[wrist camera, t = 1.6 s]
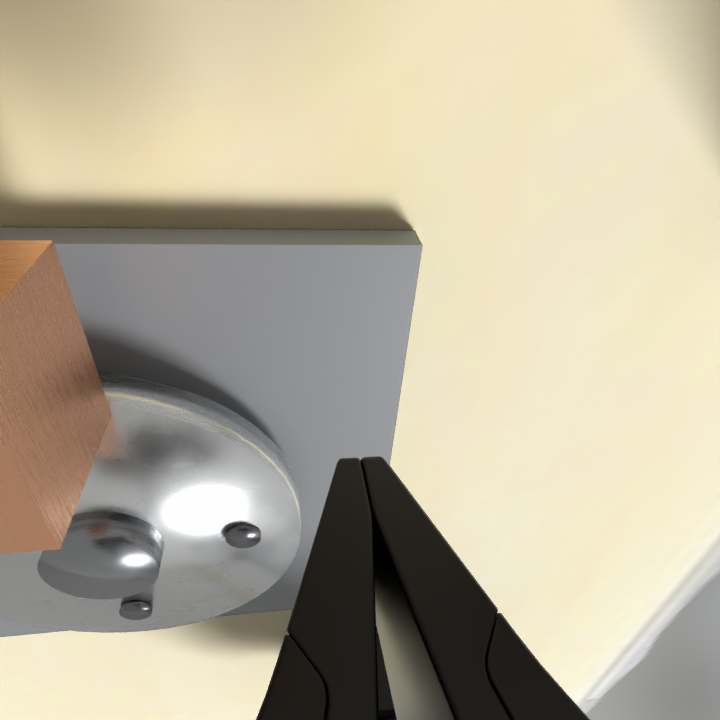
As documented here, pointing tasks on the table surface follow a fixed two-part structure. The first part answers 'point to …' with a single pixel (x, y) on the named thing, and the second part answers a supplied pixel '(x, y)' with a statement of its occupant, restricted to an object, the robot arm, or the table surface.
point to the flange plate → (122, 479)
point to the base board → (255, 338)
